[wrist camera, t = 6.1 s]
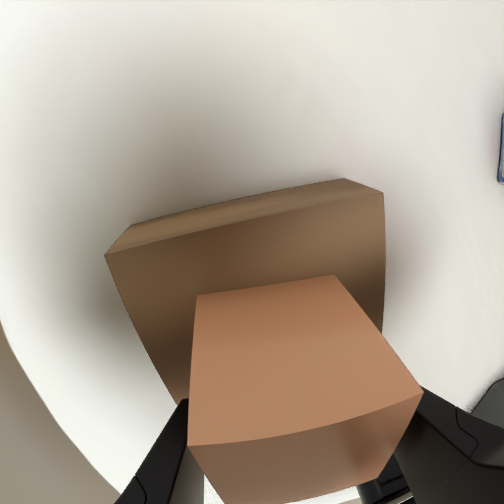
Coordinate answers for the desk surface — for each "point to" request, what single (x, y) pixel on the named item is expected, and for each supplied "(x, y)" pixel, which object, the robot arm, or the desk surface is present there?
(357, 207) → the walnut block
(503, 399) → the storage bin
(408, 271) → the desk surface
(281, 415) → the terracotta box
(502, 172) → the ink cartridge box
